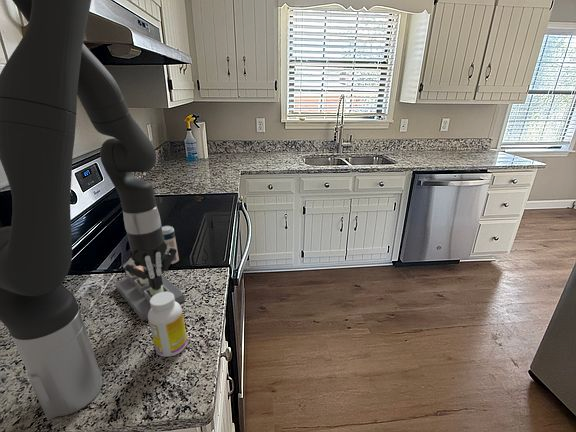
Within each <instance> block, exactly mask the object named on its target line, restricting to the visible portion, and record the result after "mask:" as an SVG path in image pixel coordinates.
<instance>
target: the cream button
mask: <svg viewBox="0 0 576 432" xmlns="http://www.w3.org/2000/svg"><path fill="white" fill-rule="evenodd" d="M139 280H140V284H141V286H145V285H147V284H149V282H148V278H146V279H144V280H143V279H141V278H139Z"/></svg>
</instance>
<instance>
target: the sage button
mask: <svg viewBox="0 0 576 432" xmlns="http://www.w3.org/2000/svg"><path fill="white" fill-rule="evenodd" d="M149 291H150V295H151V297H153V296H154V295H155V294H157V293H160V292H164V290H163V286H162V285H161V288H160V289H157V290H154V289H152V288H151V287H150V289H149Z"/></svg>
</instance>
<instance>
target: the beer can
mask: <svg viewBox="0 0 576 432" xmlns="http://www.w3.org/2000/svg"><path fill="white" fill-rule="evenodd" d="M162 231H163V236H164V242H165V243H166V244H167V246H172V247H173V248H175V249H176V250H177V252H176V254H175V256H174V258H173V260H172V262H171V264H172V265H174V264H176V263H179V261H180V258H179V251H178V245H177V241H176V235H175V233H176V232H175V229H174V227H173V226H171V225H164V226H162ZM164 255H165V254H164ZM163 257H164V256H163ZM171 264H170V266H171Z"/></svg>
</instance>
